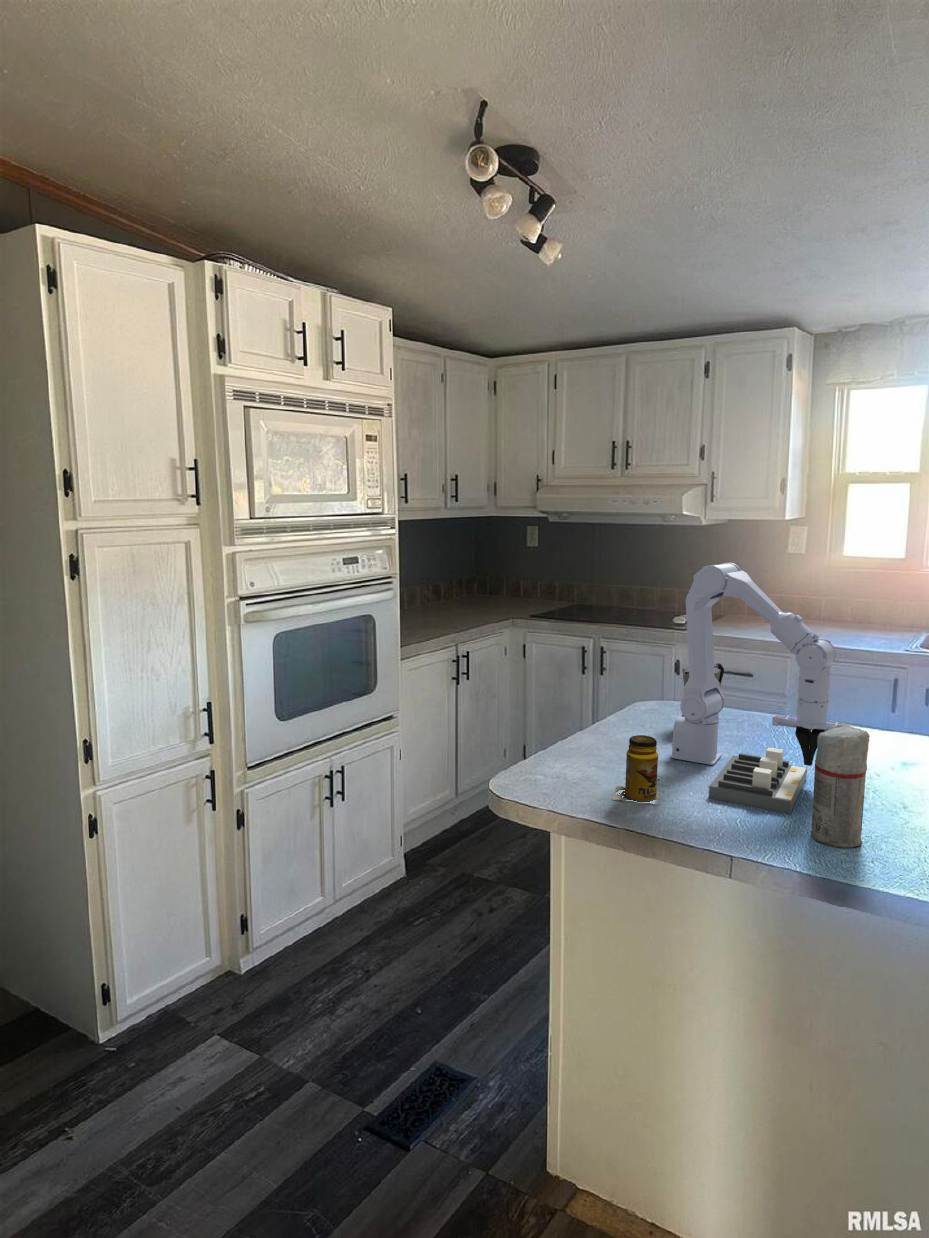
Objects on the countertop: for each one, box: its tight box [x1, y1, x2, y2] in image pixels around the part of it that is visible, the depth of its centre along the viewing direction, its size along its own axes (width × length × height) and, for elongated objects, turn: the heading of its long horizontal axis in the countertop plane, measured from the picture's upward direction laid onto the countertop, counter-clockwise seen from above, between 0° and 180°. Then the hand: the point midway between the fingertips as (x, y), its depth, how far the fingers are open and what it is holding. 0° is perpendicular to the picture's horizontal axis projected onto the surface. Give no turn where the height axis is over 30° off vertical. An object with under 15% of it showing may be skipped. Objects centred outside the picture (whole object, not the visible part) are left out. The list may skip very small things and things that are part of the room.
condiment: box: [612, 734, 660, 806], centre depth 154 cm, size 7×8×12 cm
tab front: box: [752, 767, 772, 789], centre depth 152 cm, size 3×2×4 cm
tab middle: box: [759, 756, 778, 778], centre depth 157 cm, size 3×2×4 cm
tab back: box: [765, 746, 785, 767], centre depth 163 cm, size 3×2×4 cm
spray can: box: [810, 724, 870, 849], centre depth 134 cm, size 8×8×20 cm
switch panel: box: [708, 753, 808, 814], centre depth 159 cm, size 15×21×3 cm
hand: (808, 763), depth 160 cm, fingers closed
